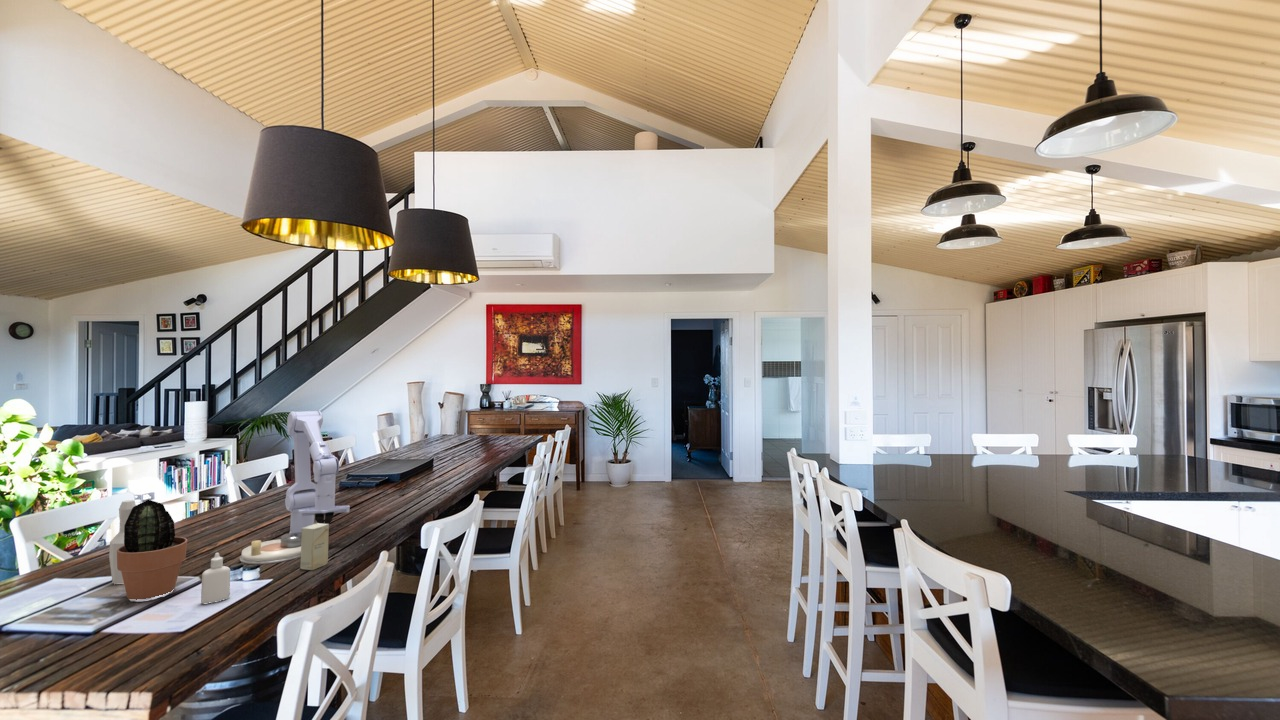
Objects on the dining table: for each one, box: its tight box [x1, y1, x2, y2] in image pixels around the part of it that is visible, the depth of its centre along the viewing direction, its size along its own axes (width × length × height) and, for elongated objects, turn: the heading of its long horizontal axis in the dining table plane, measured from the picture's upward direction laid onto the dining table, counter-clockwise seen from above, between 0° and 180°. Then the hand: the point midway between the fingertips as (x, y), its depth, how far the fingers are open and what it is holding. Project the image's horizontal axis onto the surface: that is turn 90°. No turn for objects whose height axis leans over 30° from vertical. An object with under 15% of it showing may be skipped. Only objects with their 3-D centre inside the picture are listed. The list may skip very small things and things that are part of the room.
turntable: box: [241, 538, 301, 562], centre depth 174 cm, size 18×18×6 cm
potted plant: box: [117, 499, 188, 600], centre depth 141 cm, size 14×14×25 cm
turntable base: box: [238, 554, 301, 565], centre depth 174 cm, size 19×19×1 cm
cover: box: [280, 532, 302, 548], centre depth 176 cm, size 7×7×3 cm
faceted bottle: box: [108, 499, 137, 585], centre depth 150 cm, size 6×6×22 cm
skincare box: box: [299, 522, 330, 571], centre depth 163 cm, size 6×4×12 cm
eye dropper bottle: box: [200, 552, 231, 604], centre depth 138 cm, size 4×6×12 cm
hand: (323, 536), depth 180 cm, fingers closed
